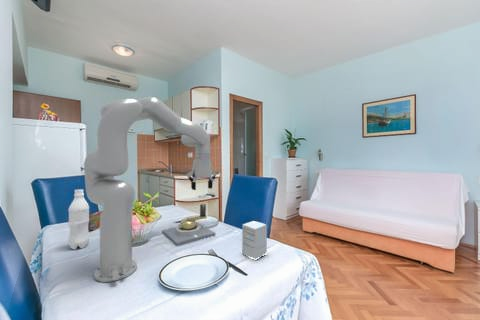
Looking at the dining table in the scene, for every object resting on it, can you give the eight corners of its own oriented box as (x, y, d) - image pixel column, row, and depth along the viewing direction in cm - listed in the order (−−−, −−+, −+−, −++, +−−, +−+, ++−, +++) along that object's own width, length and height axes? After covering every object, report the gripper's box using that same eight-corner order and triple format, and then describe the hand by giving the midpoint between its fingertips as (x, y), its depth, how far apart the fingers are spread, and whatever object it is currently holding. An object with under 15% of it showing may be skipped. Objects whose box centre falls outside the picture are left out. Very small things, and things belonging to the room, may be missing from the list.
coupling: (202, 225, 113) (202, 203, 113) (208, 229, 108) (208, 205, 107) (176, 230, 105) (177, 206, 105) (181, 234, 100) (181, 209, 99)
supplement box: (253, 249, 89) (253, 220, 89) (267, 255, 84) (267, 224, 83) (241, 254, 84) (241, 224, 83) (255, 261, 78) (255, 228, 78)
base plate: (215, 235, 103) (215, 228, 103) (176, 246, 91) (176, 238, 91) (197, 225, 119) (197, 219, 119) (162, 232, 107) (162, 226, 107)
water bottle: (67, 246, 89) (67, 189, 89) (87, 242, 95) (87, 188, 94) (70, 252, 85) (69, 191, 84) (91, 246, 90) (91, 189, 89)
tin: (90, 232, 107) (90, 216, 107) (84, 232, 107) (84, 216, 107) (108, 223, 122) (108, 209, 122) (103, 223, 122) (103, 209, 122)
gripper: (213, 157, 118) (212, 187, 118) (184, 156, 107) (183, 189, 107) (220, 157, 112) (219, 188, 112) (190, 156, 101) (189, 191, 101)
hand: (202, 188), depth 109 cm, fingers open, 9 cm apart
